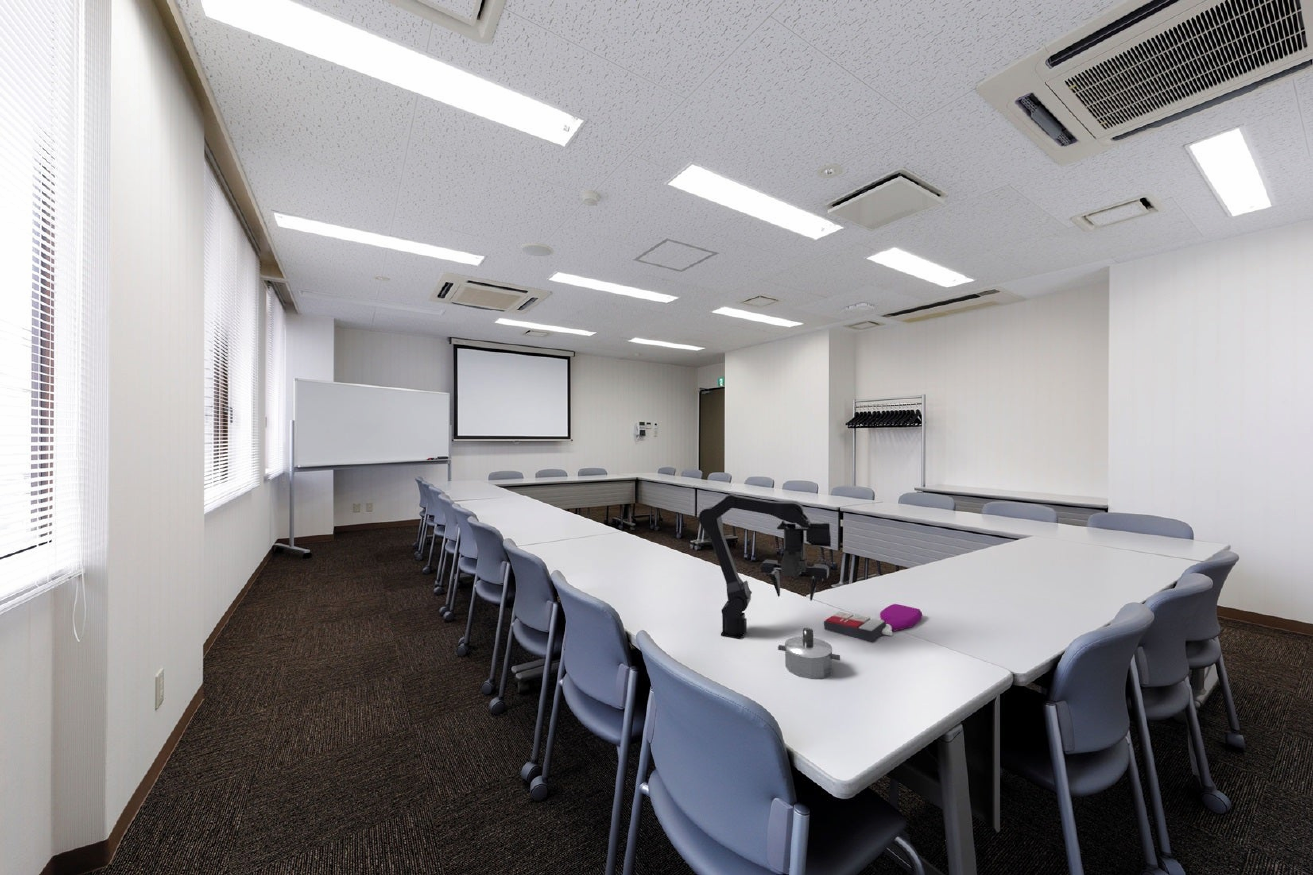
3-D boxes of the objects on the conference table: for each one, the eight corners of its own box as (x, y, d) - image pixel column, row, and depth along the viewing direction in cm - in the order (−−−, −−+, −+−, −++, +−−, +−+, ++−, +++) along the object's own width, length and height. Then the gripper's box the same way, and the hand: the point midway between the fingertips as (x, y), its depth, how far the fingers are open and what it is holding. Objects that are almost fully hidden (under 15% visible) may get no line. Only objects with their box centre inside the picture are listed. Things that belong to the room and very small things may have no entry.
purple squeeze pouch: (925, 618, 158) (898, 641, 141) (890, 610, 166) (860, 631, 148) (925, 609, 158) (898, 631, 141) (890, 602, 166) (860, 622, 148)
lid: (781, 657, 121) (780, 634, 121) (789, 640, 131) (789, 619, 132) (829, 666, 116) (829, 642, 116) (834, 647, 126) (833, 625, 127)
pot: (774, 671, 122) (774, 651, 122) (782, 654, 132) (782, 635, 132) (838, 684, 115) (837, 663, 115) (842, 664, 125) (841, 645, 125)
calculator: (838, 610, 157) (886, 619, 147) (839, 623, 157) (887, 633, 147) (823, 618, 150) (872, 629, 139) (823, 633, 149) (873, 644, 139)
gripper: (755, 547, 138) (756, 602, 138) (824, 553, 130) (825, 611, 130) (764, 540, 148) (765, 591, 148) (828, 545, 140) (829, 599, 140)
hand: (794, 598), depth 141 cm, fingers open, 9 cm apart
